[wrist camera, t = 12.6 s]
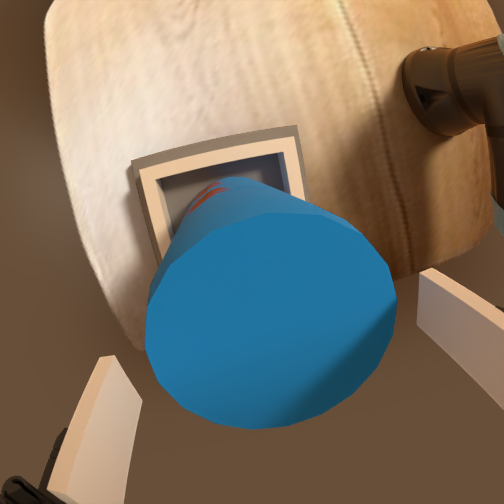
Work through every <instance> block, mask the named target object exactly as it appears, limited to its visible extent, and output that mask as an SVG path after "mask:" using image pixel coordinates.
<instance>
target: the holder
mask: <svg viewBox="0 0 504 504" xmlns="http://www.w3.org/2000/svg"><path fill="white" fill-rule="evenodd" d="M131 163H132V168H133V172H134V177H135V181H136V185H137V189H138V193H139V198H140V202H141V206H142V209H143V213H144V217H145V221H146V224H147V228H148V232H149V235H150V239H151V242H152V246H153V249H154V253H155V256H156V259H157V262H158V266H160V264H161V262H162V260H163V258H164V256H165V254H166V252H167V250H168V248H169V246H170V244H171V241H172V239H173V238H174V236H175V234H176V232H177V230H178V228H179V226H180V224H181V222H182V220H183V218H184V216H185V214H186V212H187V210H188V209H189V207H190V205H191V204H192V202H193V200H194V199H195V197H196V195H197V194H198V193H199V192H200V191H202V190H203V189H204V188H205V187H207V186H208V185H209V184H210V183H212V182H214V181H217V180H220V179H223V178H226V177H248V178H250V179H253V180H255V181H258V182H261V183H263V184H266V185H268V186H271V187H273V188H275V189H278V190H280V191H283V192H285V193H288V194H290V195H292V196H295V197H297V198H299V199H302V200H304V201H306V202H309V203H310V197H309V191H308V184H307V178H306V172H305V167H304V161H303V155H302V150H301V144H300V139H299V134H298V129H297V125H292V126H284V127H277V128H271V129H264V130H258V131H252V132H247V133H241V134H236V135H231V136H226V137H221V138H216V139H211V140H207V141H202V142H198V143H194V144H190V145H186V146H181V147H178V148H174V149H170V150H166V151H162V152H159V153H155V154H152V155H148V156H145V157H141V158H138V159H135V160H131Z"/></svg>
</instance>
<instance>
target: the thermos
mask: <svg viewBox="0 0 504 504" xmlns="http://www.w3.org/2000/svg"><path fill="white" fill-rule="evenodd" d="M396 308H397V297H396V293H395V289H394V285H393V281H392V277H391V274H390V270H389V266H388V265H387V263H386V262H385V261H384V260H383V258H382V257H381V256H380V255H379V253H378V252H377V251H376V250H375V249H374V247H373V246H372V245H371V244H370V242H369V241H368V240H367V239H366V238H365V237H364V235H363V234H362V233H360V232H359V231H358V230H357V229H356V228H355V227H353V226H352V225H351V224H350V223H349V222H347V221H346V220H345V219H343V218H340V217H338V216H336V215H334V214H332V213H330V212H328V211H326V210H324V209H322V208H319V207H317V206H315V205H313V204H311V203H309V202H306V201H304V200H302V199H299V198H297V197H295V196H292V195H290V194H288V193H285V192H283V191H280V190H278V189H275V188H273V187H271V186H268V185H266V184H263V183H261V182H258V181H255V180H253V179H250V178H248V177H226V178H223V179H220V180H217V181H214V182H212V183H210V184H209V185H208V186H207V187H205V188H204V189H203V190H202V191H200V192H199V193H198V194H197V195H196V197H195V199H194V200H193V202H192V204H191V205H190V207H189V209H188V210H187V212H186V214H185V216H184V218H183V220H182V222H181V224H180V226H179V228H178V230H177V232H176V234H175V236H174V238H173V239H172V241H171V244H170V246H169V248H168V250H167V252H166V254H165V256H164V258H163V260H162V262H161V264H160V266H159V268H158V270H157V272H156V274H155V277H154V279H153V281H152V283H151V285H150V291H149V298H148V304H147V315H146V331H145V350H146V353H147V356H148V358H149V361H150V363H151V365H152V368H153V371H154V373H155V376H156V378H157V380H158V383H159V384H160V385H161V386H162V387H163V388H164V389H165V390H166V391H167V392H168V393H169V394H170V395H171V396H172V397H173V398H174V399H175V400H176V401H177V402H178V403H179V404H180V405H181V406H182V407H183V408H185V409H187V410H189V411H191V412H193V413H195V414H197V415H199V416H201V417H203V418H205V419H207V420H209V421H212V422H213V423H216V424H221V425H227V426H232V427H239V428H245V429H263V428H274V427H283V426H289V425H292V424H295V423H298V422H301V421H304V420H307V419H310V418H312V417H315V416H318V415H321V414H323V413H324V412H326V411H328V410H329V409H331V408H332V407H334V406H335V405H337V404H339V403H340V402H342V401H343V400H344V399H346V398H348V397H349V396H350V395H352V394H353V393H354V392H355V391H356V390H357V389H358V388H359V387H360V386H361V385H362V384H363V382H364V381H365V380H366V379H367V378H368V377H369V376H370V375H371V374H372V372H373V371H374V370H375V369H376V368H377V366H378V364H379V362H380V361H381V358H382V356H383V355H384V352H385V350H386V348H387V346H388V344H389V342H390V340H391V338H392V336H393V330H394V323H395V316H396Z"/></svg>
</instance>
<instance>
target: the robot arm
mask: <svg viewBox="0 0 504 504" xmlns="http://www.w3.org/2000/svg"><path fill="white" fill-rule="evenodd" d="M402 77H403V86H404V90H405V94H406V97H407V99H408V102H409V104H410V106H411V108H412V110H413V112H414V113H415V115H416V116H417V118H418V119H419V120H420V121H421V123H422V124H423V125H424V126H425V127H427V128H428V129H429V130H430V131H432V132H434V133H436V134H438V135H442V136H455V135H459V134H462V133H463V132H465V131H466V130H468V129H470V128H473V127H475V126H477V125H479V124H485V127H486V134H487V142H488V150H489V159H490V170H491V199H492V208H493V220H494V223H495V226H496V227H497V229H498V230H499V231H500V232H501V234H502V235H503V236H504V35H498V36H497V37H493V38H489V39H486V40H482V41H478V42H475V43H471V44H468V45H464V46H461V47H458V48H455V49H451V48H441V47H438V48H436V47H423V48H420V49H418V50H415V51H413V52H411V53H410V54H409V55H408V56H407V58H406V60H405V62H404V65H403V72H402ZM417 326H419V327H420V328H421V329H422V330H423V331H424V332H425V333H426V334H427V335H428V336H430V337H431V338H432V339H433V340H434V341H435V342H436V343H437V344H438V345H439V346H440V347H441V348H442V349H443V350H444V351H445V352H447V353H448V354H449V355H450V356H451V357H452V358H453V359H454V360H455V361H456V362H457V363H458V364H459V365H460V366H461V367H462V368H463V369H464V370H465V371H466V372H467V373H468V374H469V375H470V376H471V377H472V378H473V379H474V380H475V381H476V382H477V383H478V384H479V385H480V386H481V387H482V388H483V389H484V390H485V391H486V392H487V393H488V394H489V395H490V396H491V397H492V398H493V399H494V400H495V401H496V402H497V403H498V405H499V406H500V407H501V408H502V409H503V410H504V308H501V307H498V306H495V307H494V306H493V305H491V304H490V303H488V302H487V301H485V300H484V299H482V298H481V297H479V296H478V295H476V294H474V293H473V292H471V291H469V290H468V289H466V288H465V287H463V286H462V285H460V284H458V283H457V282H455V281H453V280H452V279H450V278H448V277H447V276H445V275H443V274H442V273H440V272H438V271H437V270H435V269H433V268H430V269H427V270H425V271H422V272H420V273H419V296H418V312H417ZM141 405H142V399H141V398H140V396H139V395H138V393H137V392H136V390H135V388H134V387H133V385H132V384H131V382H130V380H129V379H128V377H127V376H126V374H125V372H124V371H123V369H122V367H121V366H120V364H119V362H118V360H117V359H116V357H115V355H112V356H106V357H100V358H99V360H98V363H97V364H96V367H95V369H94V371H93V373H92V375H91V377H90V379H89V382H88V384H87V386H86V388H85V390H84V392H83V395H82V397H81V399H80V402H79V404H78V406H77V409H76V411H75V413H74V416H73V418H72V420H71V423H70V426H69V428H64V430H63V431H62V432H61V433H60V435H59V436H58V437H57V439H56V441H55V444H54V446H53V450H52V452H51V454H50V459H49V460H48V462H47V465H46V468H45V470H44V474H43V476H42V479H41V482H40V485H39V488H38V490H37V489H36V488H35V487H33V486H32V485H31V484H29V483H28V482H27V481H26V480H25V479H23V478H22V477H21V476H13V477H10V478H9V479H8V480H6V482H5V483H4V485H3V487H2V491H1V492H2V494H0V504H123V503H124V496H125V489H126V483H127V476H128V470H129V465H130V459H131V453H132V448H133V442H134V438H135V433H136V428H137V423H138V419H139V414H140V409H141Z"/></svg>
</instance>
